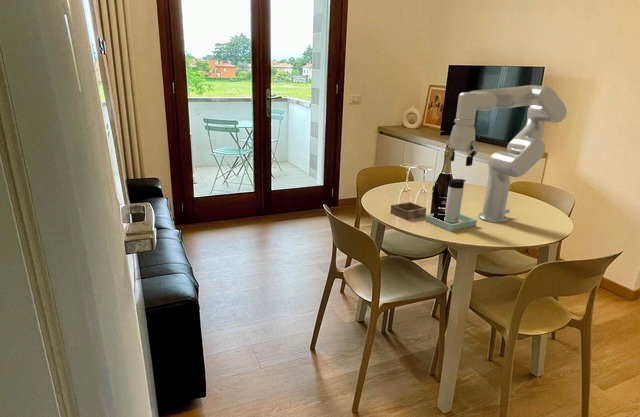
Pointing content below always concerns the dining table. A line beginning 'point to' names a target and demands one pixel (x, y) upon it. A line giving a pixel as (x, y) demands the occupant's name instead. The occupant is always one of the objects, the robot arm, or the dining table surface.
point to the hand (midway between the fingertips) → (459, 163)
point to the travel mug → (454, 201)
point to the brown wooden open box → (408, 210)
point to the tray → (462, 224)
